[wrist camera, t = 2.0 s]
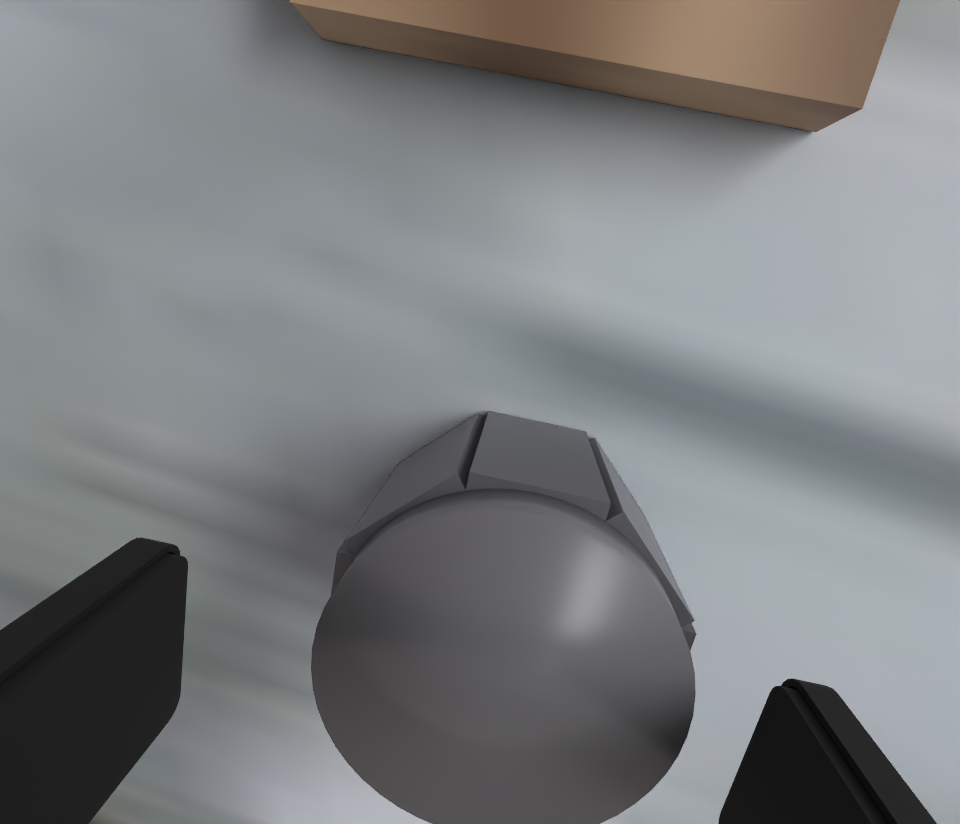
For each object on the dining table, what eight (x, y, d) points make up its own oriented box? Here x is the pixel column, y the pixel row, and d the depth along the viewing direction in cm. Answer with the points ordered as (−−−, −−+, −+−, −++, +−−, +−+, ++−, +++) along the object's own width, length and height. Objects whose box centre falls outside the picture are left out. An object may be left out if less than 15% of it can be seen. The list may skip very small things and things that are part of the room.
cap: (669, 449, 12) (759, 562, 7) (601, 670, 14) (638, 881, 9) (407, 393, 12) (329, 467, 8) (370, 617, 14) (287, 794, 9)
